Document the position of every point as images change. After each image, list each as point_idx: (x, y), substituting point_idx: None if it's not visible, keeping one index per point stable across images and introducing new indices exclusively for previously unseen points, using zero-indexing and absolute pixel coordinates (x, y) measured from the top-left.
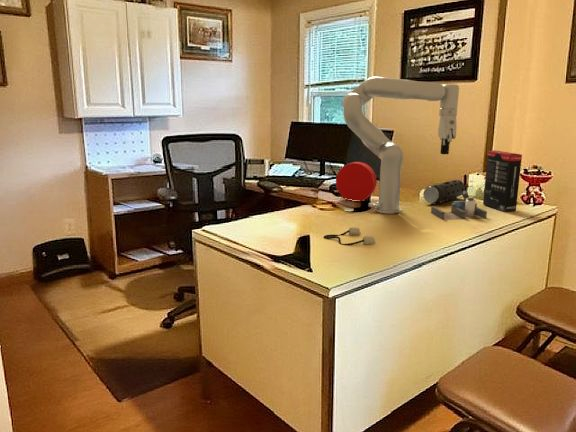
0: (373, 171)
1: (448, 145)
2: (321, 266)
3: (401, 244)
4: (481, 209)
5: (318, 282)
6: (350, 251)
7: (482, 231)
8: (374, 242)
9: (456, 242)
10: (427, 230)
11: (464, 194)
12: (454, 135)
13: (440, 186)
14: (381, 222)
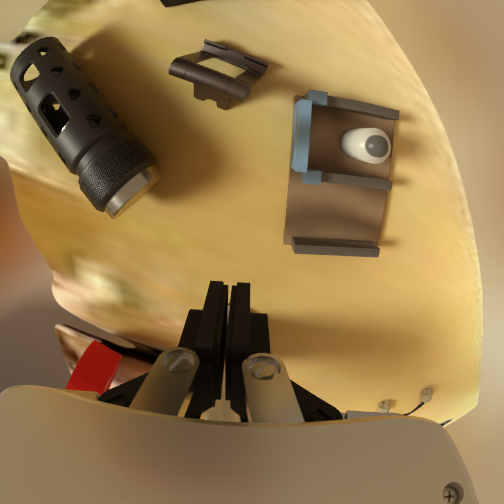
0: (70, 387)
1: (266, 362)
2: (448, 416)
3: (449, 359)
4: (371, 107)
5: (467, 412)
6: (434, 404)
7: (461, 197)
8: (430, 387)
9: (481, 285)
10: (418, 307)
11: (244, 96)
12: (449, 466)
13: (113, 159)
14: (332, 369)
